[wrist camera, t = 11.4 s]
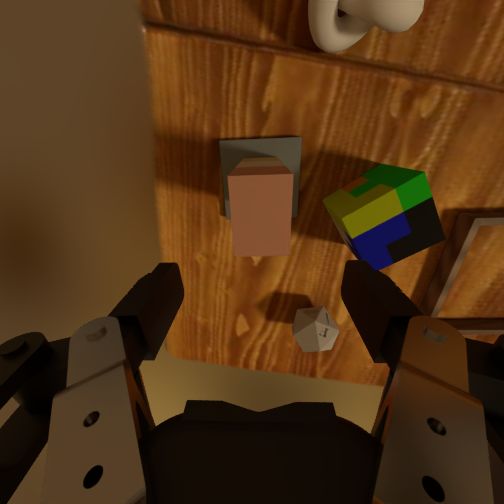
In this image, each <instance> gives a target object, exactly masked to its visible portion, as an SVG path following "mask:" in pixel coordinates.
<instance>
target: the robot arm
mask: <svg viewBox="0 0 504 504" xmlns="http://www.w3.org/2000/svg"><path fill="white" fill-rule="evenodd" d="M341 297H342V300H343V302H344V304H345V306H346V308H347V310H348V312H349V314H350V316H351V318H352V320H353V322H354V324H355V326H356V328H357V330H358V332H359V334H360V336H361V338H362V340H363V342H364V344H365V346H366V348H367V350H368V351H369V353H370V355H371V357H372V359H373V361H374V363H387V364H388V366H389V368H390V370H389V372H388V375H387V378H386V382H385V386H384V389H383V393H382V397H381V401H380V404H379V408H378V412H377V415H376V419H375V422H374V425H373V428H372V431H371V433H368V432H367V431H365V430H364V429H363V428H361V427H359V426H358V425H356V424H354V423H353V422H351V421H349V420H346V419H344V418H342V417H339V416H336V413H335V409H334V406H333V403H329V402H327V403H326V402H294V403H290V404H287V405H283V406H280V407H277V408H273V409H269V410H266V411H262V412H256V411H252V410H249V409H246V408H243V407H240V406H237V405H234V404H231V403H227V402H224V401H208V400H205V401H204V400H187V402H186V405H185V409H184V413H181V414H179V415H176V416H174V417H172V418H169V419H168V420H166V421H164V422H162V423H160V424H159V425H157V426H156V425H155V423H154V420H153V417H152V414H151V410H150V407H149V402H148V399H147V395H146V391H145V387H144V383H143V379H142V375H141V372H140V369H139V366H140V364H141V362H142V361H143V360H155V358H156V355H157V354H158V351H159V349H160V347H161V345H162V343H163V341H164V339H165V337H166V335H167V333H168V331H169V329H170V327H171V324H172V322H173V320H174V318H175V316H176V314H177V312H178V310H179V308H180V306H181V304H182V301H183V298H184V287H183V283H182V279H181V274H180V270H179V266H178V264H177V263H159V264H158V265H157V267H156V268H155V269H154V270H153V271H152V273H148V274H147V275H145V276H144V277H142V278H141V279H139V280H138V281H137V283H136V284H135V285H134V286H133V288H131V289H130V291H129V292H128V294H127V295H125V296H124V298H123V299H122V300H121V301H120V302H119V303H118V304H117V306H116V307H115V308H114V309H113V310H112V312H111V313H110V314H109V315H108V316H107V317H101V318H97V319H94V320H92V321H90V322H88V323H86V324H84V325H83V326H81V327H80V328H79V329H78V330H76V331H75V333H74V334H73V335H72V336H71V337H69V338H65V339H60V340H56V341H52V342H48V341H47V339H46V338H45V336H44V335H43V334H42V333H40V332H30V333H26V334H23V335H20V336H17V337H15V338H13V339H11V340H8V341H6V342H5V343H3V344H1V345H0V409H1V408H2V407H3V406H4V405H5V404H6V403H7V402H8V400H9V399H10V398H11V397H13V398H14V399H15V400H16V401H17V402H18V403H19V404H20V406H19V407H18V408H17V410H16V411H15V412H14V413H13V414H12V415H11V416H10V418H9V419H8V420H7V421H6V422H5V423H4V425H3V426H2V427H1V428H0V504H7V502H8V501H9V500H10V498H11V497H12V495H13V493H14V492H15V490H16V489H17V487H18V486H19V484H20V483H21V481H22V480H23V478H24V477H25V475H26V474H27V472H28V471H29V469H30V467H31V466H32V465H33V463H34V462H35V460H36V458H37V457H38V455H39V454H40V452H41V451H42V449H43V448H44V446H45V445H46V443H47V442H48V445H47V454H46V463H45V470H44V478H43V487H42V495H41V504H494V502H493V494H492V485H491V475H490V465H489V456H488V446H487V440H488V442H489V443H490V445H491V446H492V447H493V449H494V450H495V452H496V453H497V455H498V456H499V458H500V459H501V460H502V462H503V463H504V334H502V335H500V336H499V337H498V339H497V340H496V341H495V343H494V344H490V343H486V342H481V341H477V340H472V339H468V338H464V337H463V335H462V334H461V333H460V332H459V331H458V330H457V329H456V328H454V327H453V326H451V325H450V324H448V323H446V322H444V321H442V320H440V319H437V318H434V317H430V316H425V315H424V314H423V313H422V312H421V311H420V310H419V309H418V308H417V306H416V305H415V304H414V303H413V302H412V301H411V300H410V299H409V298H408V297H407V296H406V295H405V294H404V293H402V290H401V289H400V288H399V287H398V286H396V284H395V283H394V282H393V281H392V280H391V279H390V277H388V276H387V275H385V274H383V273H382V272H380V271H378V270H374V269H373V268H372V266H371V265H370V264H369V263H368V262H367V261H366V260H348V261H347V262H346V264H345V269H344V275H343V280H342V285H341Z"/></svg>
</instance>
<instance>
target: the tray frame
mask: <svg viewBox="0 0 504 504" xmlns="http://www.w3.org/2000/svg"><path fill="white" fill-rule="evenodd" d="M480 225H504V211H500V212H463V213H459V215H458V218H457V220H456V223H455V225H454V227H453V230H452V232H451V235H450V237H449V239H448V242H447V244H446V247H445V249H444V251H443V254H442V256H441V259H440V261H439V263H438V266H437V268H436V271H435V273H434V276H433V278H432V280H431V283H430V285H429V288H428V290H427V292H426V295H425V297H424V300H423V302H422V304H421V307H420V309H419V310H420V311H421V312H422V313H423V314H424V315H425V316H430V317H434V318H437V315H438V313H439V311H440V309H441V307H442V305H443V303H444V301H445V298H446V296H447V294H448V292H449V290H450V288H451V286H452V284H453V282H454V279H455V277H456V275H457V273H458V271H459V269H460V267H461V265H462V263H463V260H464V258H465V256H466V254H467V252H468V250H469V248H470V246H471V244H472V241H473V239H474V237H475V235H476V233H477V231H478V229H479V227H480ZM440 320H442V321H444V322H446V323H448V324H450V325H451V326H453V327H454V328H456V329H457V330H458V331H459V332H460V333H461V334H504V319H440Z"/></svg>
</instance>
